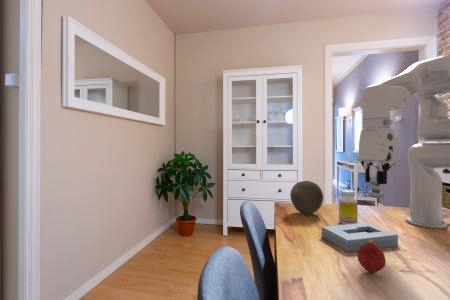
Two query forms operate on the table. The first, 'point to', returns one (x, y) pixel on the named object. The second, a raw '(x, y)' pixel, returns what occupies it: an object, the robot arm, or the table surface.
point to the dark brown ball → (306, 197)
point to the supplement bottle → (347, 207)
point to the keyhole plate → (358, 236)
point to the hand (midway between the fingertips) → (375, 182)
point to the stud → (374, 182)
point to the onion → (371, 257)
